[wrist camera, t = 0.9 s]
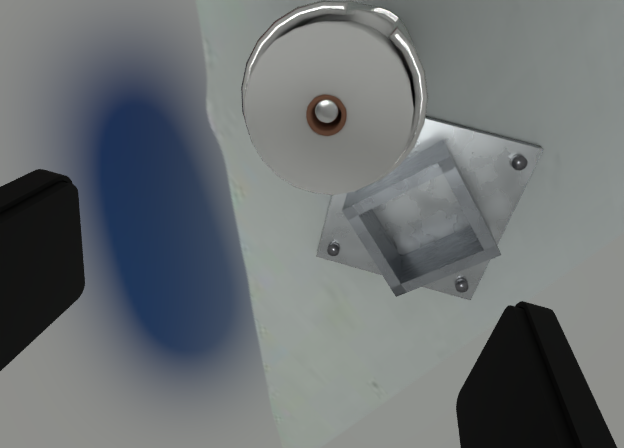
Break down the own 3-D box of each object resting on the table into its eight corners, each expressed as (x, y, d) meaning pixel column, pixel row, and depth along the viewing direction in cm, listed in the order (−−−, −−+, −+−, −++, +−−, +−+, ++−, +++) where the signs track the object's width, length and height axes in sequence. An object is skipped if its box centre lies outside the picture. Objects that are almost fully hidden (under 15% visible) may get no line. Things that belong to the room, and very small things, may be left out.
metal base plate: (358, 98, 38) (351, 112, 33) (540, 146, 37) (563, 168, 32) (317, 251, 45) (307, 283, 40) (469, 294, 44) (478, 332, 39)
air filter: (425, 60, 36) (469, 140, 14) (359, 106, 38) (305, 234, 16) (383, -12, 34) (354, -55, 12) (316, 40, 37) (191, 84, 15)
